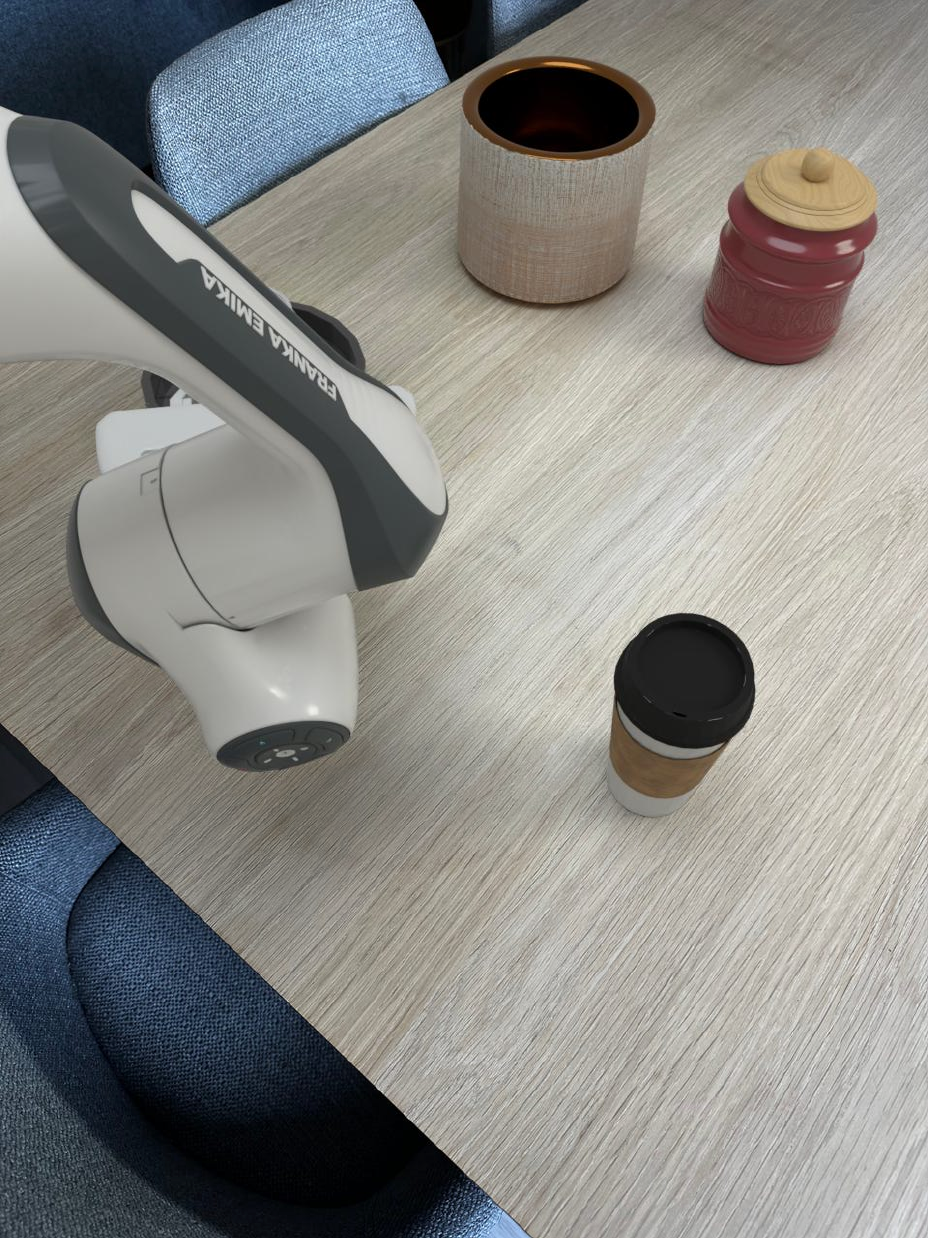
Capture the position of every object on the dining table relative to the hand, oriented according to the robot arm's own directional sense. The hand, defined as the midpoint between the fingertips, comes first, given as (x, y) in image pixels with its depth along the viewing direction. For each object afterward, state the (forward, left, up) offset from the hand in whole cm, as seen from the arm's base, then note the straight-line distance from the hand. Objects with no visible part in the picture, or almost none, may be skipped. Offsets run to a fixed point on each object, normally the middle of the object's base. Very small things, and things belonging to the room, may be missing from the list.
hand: (256, 367), depth 70 cm
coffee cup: (+19, -30, -17) cm, 39 cm away
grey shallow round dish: (+1, +13, -17) cm, 22 cm away
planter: (+33, +27, -17) cm, 46 cm away
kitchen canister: (+50, +11, -17) cm, 54 cm away
